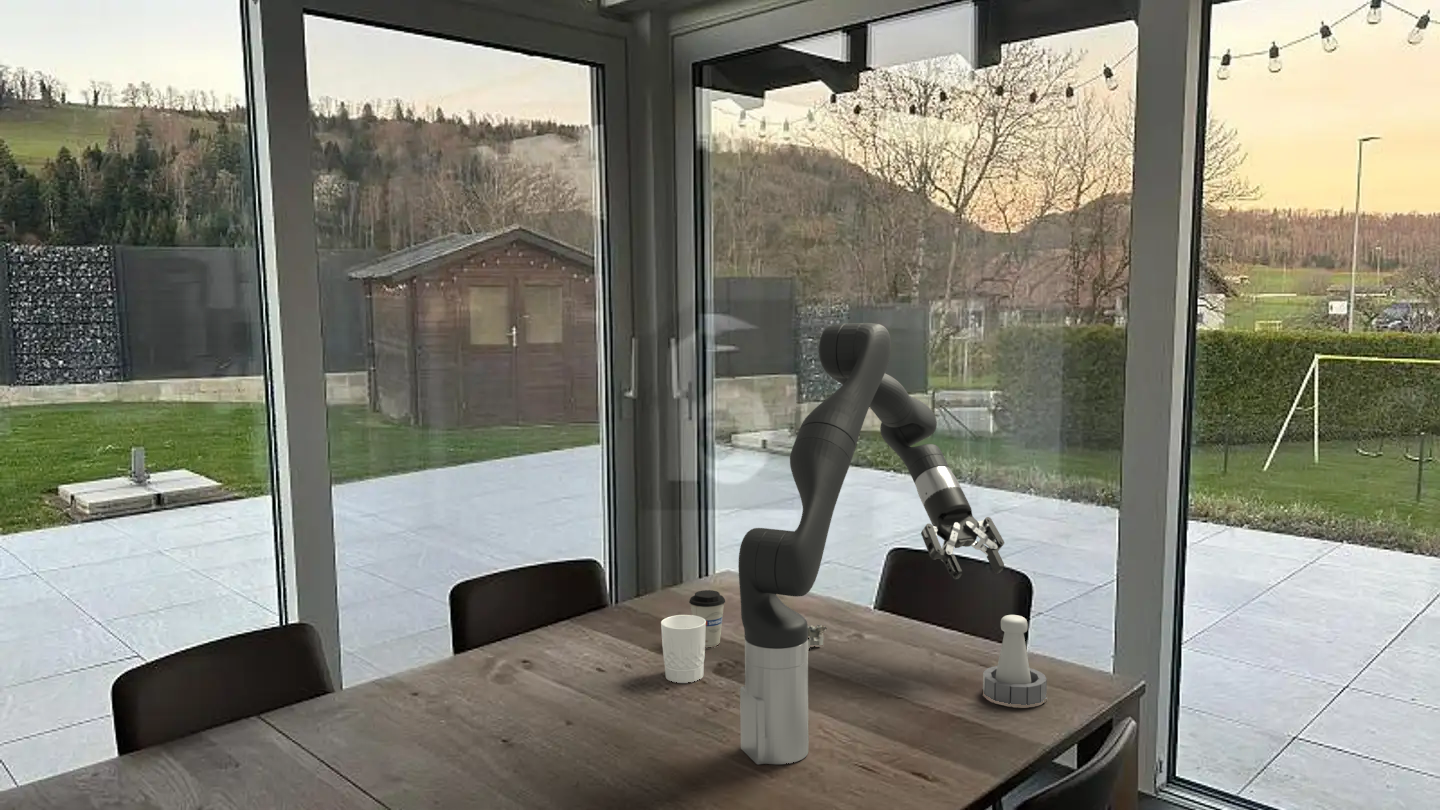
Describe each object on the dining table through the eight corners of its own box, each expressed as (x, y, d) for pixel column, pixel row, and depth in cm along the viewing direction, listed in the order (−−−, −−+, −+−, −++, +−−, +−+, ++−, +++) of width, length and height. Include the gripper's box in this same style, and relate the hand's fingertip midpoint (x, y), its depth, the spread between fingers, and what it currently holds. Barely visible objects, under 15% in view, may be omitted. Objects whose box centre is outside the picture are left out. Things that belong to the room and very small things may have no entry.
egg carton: (829, 648, 199) (829, 627, 199) (798, 655, 195) (798, 634, 195) (795, 632, 208) (795, 612, 208) (764, 639, 204) (764, 619, 203)
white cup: (709, 669, 188) (708, 615, 187) (704, 685, 180) (703, 629, 179) (665, 668, 189) (664, 614, 188) (658, 684, 181) (657, 628, 180)
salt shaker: (1032, 700, 170) (1033, 623, 169) (996, 698, 171) (997, 621, 170) (1029, 687, 176) (1030, 612, 175) (994, 685, 177) (995, 610, 176)
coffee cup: (684, 641, 203) (683, 591, 202) (716, 636, 206) (716, 586, 205) (698, 652, 197) (697, 600, 196) (731, 646, 200) (731, 595, 198)
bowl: (1008, 712, 167) (1008, 691, 167) (969, 690, 176) (969, 670, 176) (1060, 702, 171) (1061, 681, 170) (1019, 680, 180) (1020, 661, 180)
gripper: (917, 488, 185) (954, 567, 176) (984, 482, 190) (1023, 558, 181) (900, 512, 190) (935, 590, 181) (966, 505, 196) (1003, 580, 186)
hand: (979, 574), depth 181 cm, fingers open, 8 cm apart
